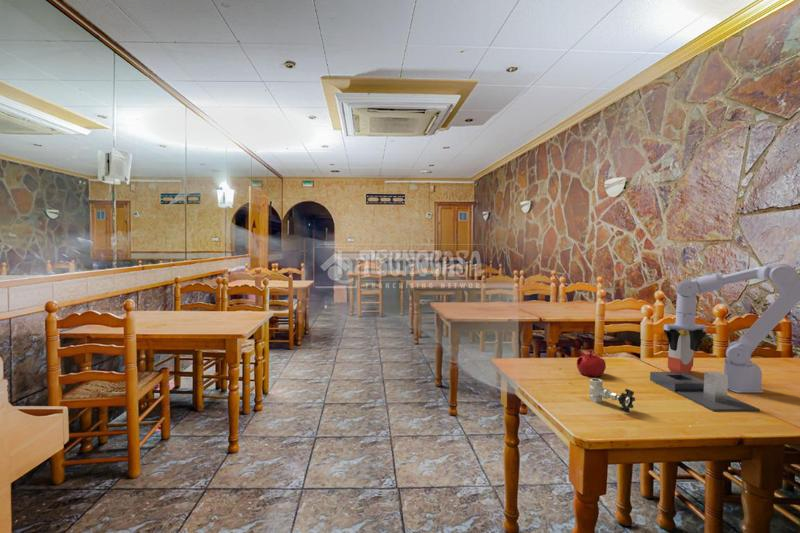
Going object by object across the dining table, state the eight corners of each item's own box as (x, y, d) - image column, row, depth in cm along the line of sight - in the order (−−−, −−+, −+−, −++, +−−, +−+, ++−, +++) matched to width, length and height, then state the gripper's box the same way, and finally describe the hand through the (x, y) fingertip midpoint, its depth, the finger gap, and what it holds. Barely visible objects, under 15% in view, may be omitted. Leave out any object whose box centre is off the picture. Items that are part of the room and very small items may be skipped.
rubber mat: (718, 393, 128) (718, 391, 128) (759, 411, 114) (759, 408, 114) (677, 393, 127) (677, 391, 127) (713, 411, 113) (713, 409, 113)
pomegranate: (609, 374, 146) (610, 350, 146) (599, 380, 139) (600, 354, 139) (582, 368, 153) (583, 345, 153) (571, 373, 147) (572, 349, 146)
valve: (583, 400, 120) (622, 415, 110) (583, 379, 120) (623, 391, 110) (595, 396, 124) (634, 410, 114) (596, 376, 124) (635, 387, 113)
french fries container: (666, 372, 149) (668, 325, 148) (679, 368, 155) (681, 323, 154) (679, 376, 145) (681, 328, 144) (693, 371, 151) (695, 325, 150)
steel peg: (714, 396, 123) (716, 371, 123) (726, 401, 119) (728, 375, 119) (703, 397, 123) (704, 371, 122) (714, 401, 119) (716, 376, 118)
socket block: (682, 380, 141) (682, 371, 141) (710, 392, 129) (710, 383, 129) (650, 380, 140) (650, 371, 140) (674, 392, 128) (675, 383, 128)
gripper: (695, 311, 146) (693, 347, 146) (658, 310, 145) (656, 347, 146) (712, 314, 139) (709, 352, 139) (672, 314, 138) (670, 352, 139)
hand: (683, 350), depth 142 cm, fingers open, 7 cm apart
